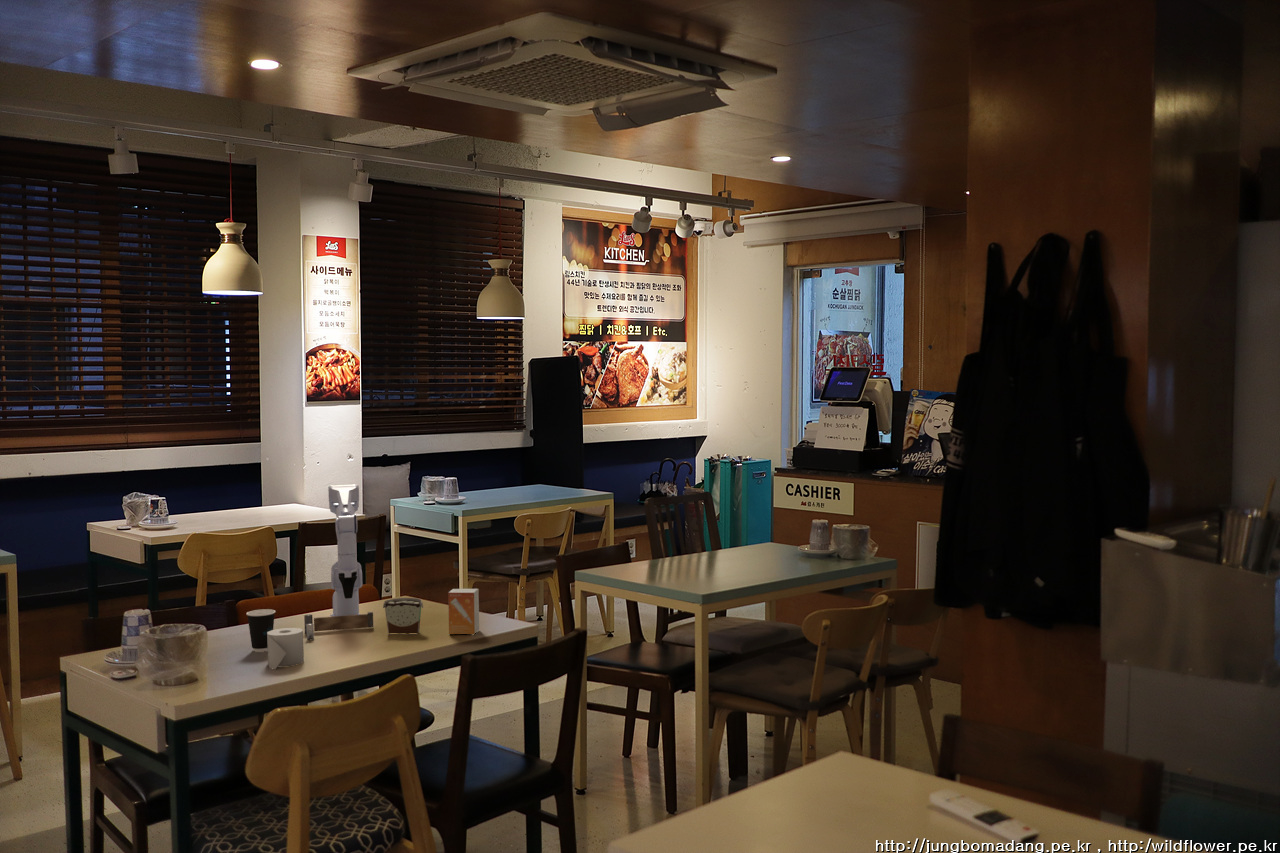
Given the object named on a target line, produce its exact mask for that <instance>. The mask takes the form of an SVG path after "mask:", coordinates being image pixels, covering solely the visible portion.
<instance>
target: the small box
mask: <svg viewBox="0 0 1280 853" xmlns="http://www.w3.org/2000/svg"><path fill="white" fill-rule="evenodd" d="M479 590H480V589H479V588H452V589H451V590H449V591H448V592H447V594H448V595H447V596H448V599H447V600H448V635H449V634H475V633H476V632H477V631H478V630H479V631H480V608H479V607H480V603H479V602H480V601H479V600H480V599H479V592H480V591H479ZM479 631H478V632H479ZM478 632H477V633H478ZM477 633H476V634H477ZM476 634H475V635H476Z"/></svg>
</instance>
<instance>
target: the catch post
mask: <svg viewBox="0 0 1280 853" xmlns="http://www.w3.org/2000/svg"><path fill="white" fill-rule="evenodd" d="M306 628H307V634H306V641H311V640H310V639H313V640H315V636H314V633H315V631H314V623H313V624H306Z"/></svg>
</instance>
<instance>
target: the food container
mask: <svg viewBox="0 0 1280 853" xmlns="http://www.w3.org/2000/svg"><path fill="white" fill-rule="evenodd" d="M423 608H424V603H423V602H422V599H421V598H416V597H395V598H389V599H387V600H385V601H384V602H383V607H382V609H384V611H385V612H384V613H385V619H386V628H387V634H388V633H419V634H420V626H421V615H422V614H421V612H422V609H423Z"/></svg>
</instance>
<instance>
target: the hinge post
mask: <svg viewBox="0 0 1280 853" xmlns="http://www.w3.org/2000/svg"><path fill="white" fill-rule="evenodd" d="M303 617H304V634H305V635H307V628H306V624H313V625H314V617H313V614H309V613H307V614H305V615H303Z"/></svg>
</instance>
